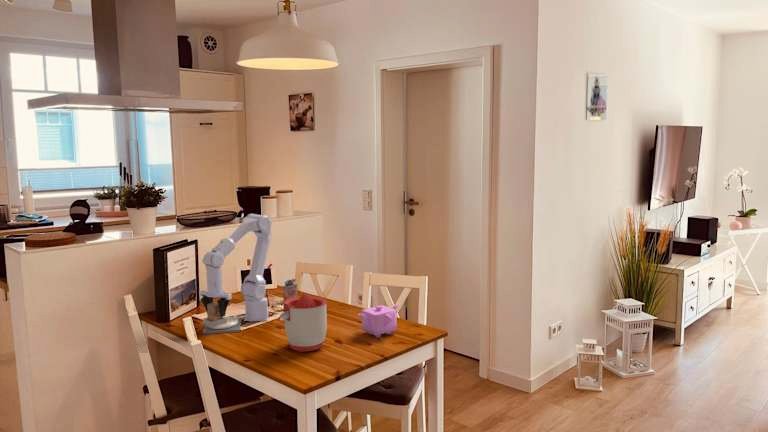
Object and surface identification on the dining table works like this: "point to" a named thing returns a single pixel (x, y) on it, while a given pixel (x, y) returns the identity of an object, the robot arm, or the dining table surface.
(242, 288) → the robot arm
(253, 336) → the dining table surface
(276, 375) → the dining table surface
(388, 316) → the teapot
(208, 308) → the driver peg
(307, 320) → the citrus juicer
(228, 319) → the dial
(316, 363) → the dining table surface
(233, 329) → the dial plate
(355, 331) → the dining table surface
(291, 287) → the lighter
